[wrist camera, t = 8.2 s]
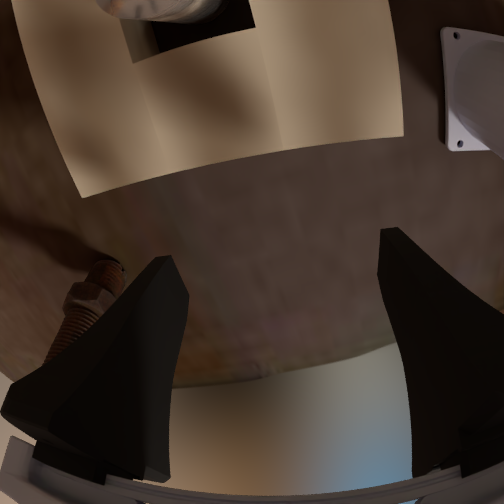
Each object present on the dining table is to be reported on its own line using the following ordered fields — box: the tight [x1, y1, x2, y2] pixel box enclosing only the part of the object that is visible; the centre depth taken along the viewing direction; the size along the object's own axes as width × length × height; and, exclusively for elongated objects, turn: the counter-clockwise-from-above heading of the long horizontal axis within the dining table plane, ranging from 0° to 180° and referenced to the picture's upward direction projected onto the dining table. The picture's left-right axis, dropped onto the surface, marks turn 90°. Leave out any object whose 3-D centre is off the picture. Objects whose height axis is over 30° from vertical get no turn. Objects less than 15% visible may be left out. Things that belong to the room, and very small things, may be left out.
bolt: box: [42, 260, 127, 366], centre depth 19 cm, size 6×5×15 cm
